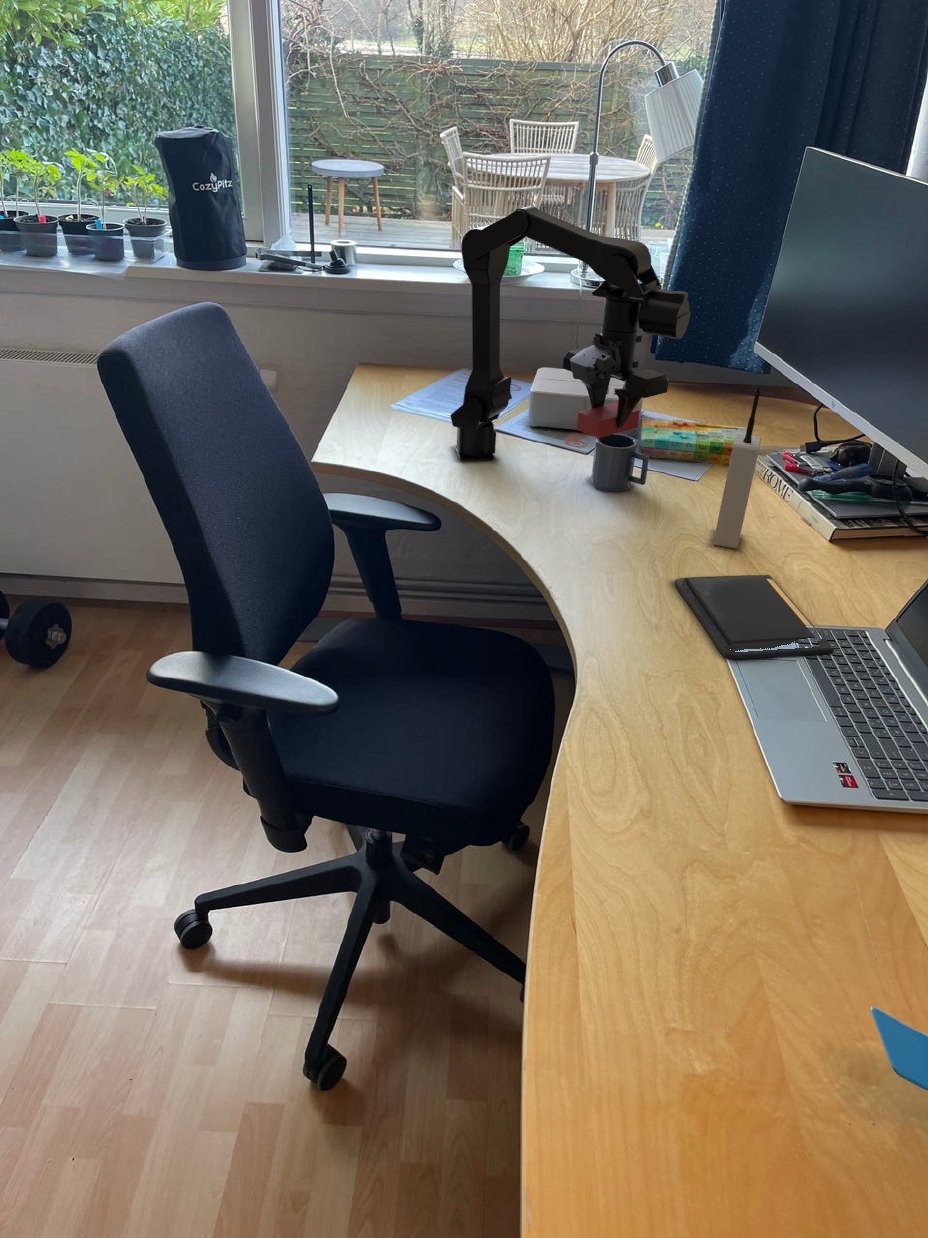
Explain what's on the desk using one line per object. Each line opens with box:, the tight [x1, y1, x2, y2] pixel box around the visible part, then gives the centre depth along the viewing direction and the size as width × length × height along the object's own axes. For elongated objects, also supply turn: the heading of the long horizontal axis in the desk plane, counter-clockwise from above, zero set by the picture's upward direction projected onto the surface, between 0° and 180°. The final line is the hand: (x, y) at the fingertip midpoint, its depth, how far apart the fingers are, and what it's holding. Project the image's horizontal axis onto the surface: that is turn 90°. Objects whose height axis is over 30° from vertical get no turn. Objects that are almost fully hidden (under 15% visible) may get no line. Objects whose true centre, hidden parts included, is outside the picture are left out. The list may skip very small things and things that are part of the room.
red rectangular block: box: [576, 402, 640, 439], centre depth 154 cm, size 10×5×3 cm, turn 128°
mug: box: [590, 434, 650, 493], centre depth 160 cm, size 10×7×8 cm
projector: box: [527, 367, 644, 438], centre depth 188 cm, size 17×22×8 cm
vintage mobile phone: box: [712, 386, 762, 550], centre depth 139 cm, size 4×5×25 cm
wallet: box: [673, 574, 834, 660], centre depth 126 cm, size 20×2×15 cm
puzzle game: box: [640, 416, 747, 465], centre depth 175 cm, size 12×5×20 cm
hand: (607, 422), depth 154 cm, fingers closed on red rectangular block, 5 cm apart
